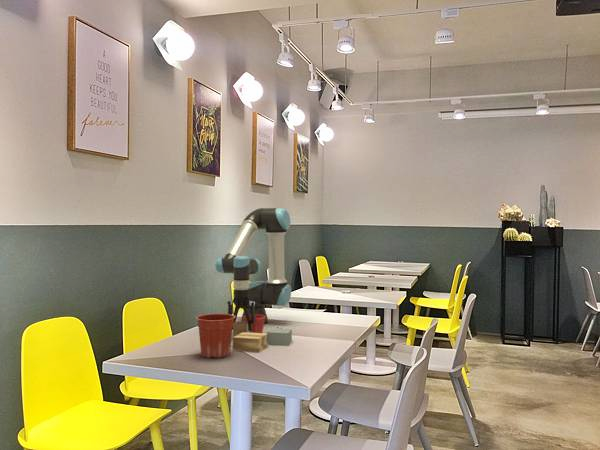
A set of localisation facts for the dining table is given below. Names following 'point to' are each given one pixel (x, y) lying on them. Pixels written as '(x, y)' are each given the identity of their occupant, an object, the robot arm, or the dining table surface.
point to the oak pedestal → (250, 342)
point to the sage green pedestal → (279, 336)
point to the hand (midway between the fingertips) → (241, 336)
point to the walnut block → (239, 328)
